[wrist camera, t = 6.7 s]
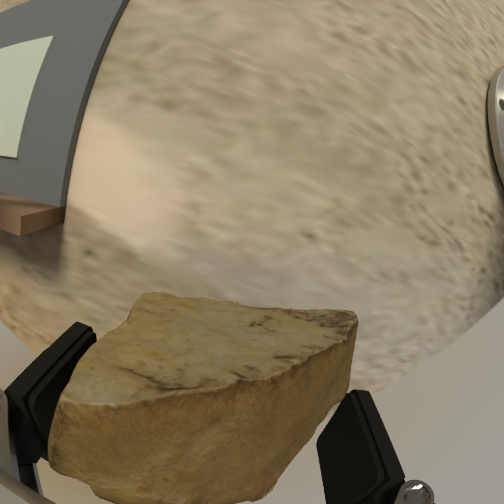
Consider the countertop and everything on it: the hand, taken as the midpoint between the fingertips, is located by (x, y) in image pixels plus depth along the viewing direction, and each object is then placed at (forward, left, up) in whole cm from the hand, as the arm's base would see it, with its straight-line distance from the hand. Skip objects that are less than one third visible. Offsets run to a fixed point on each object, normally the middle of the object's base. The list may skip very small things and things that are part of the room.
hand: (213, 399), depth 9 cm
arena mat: (+20, -10, -7) cm, 23 cm away
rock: (0, 0, -4) cm, 4 cm away
